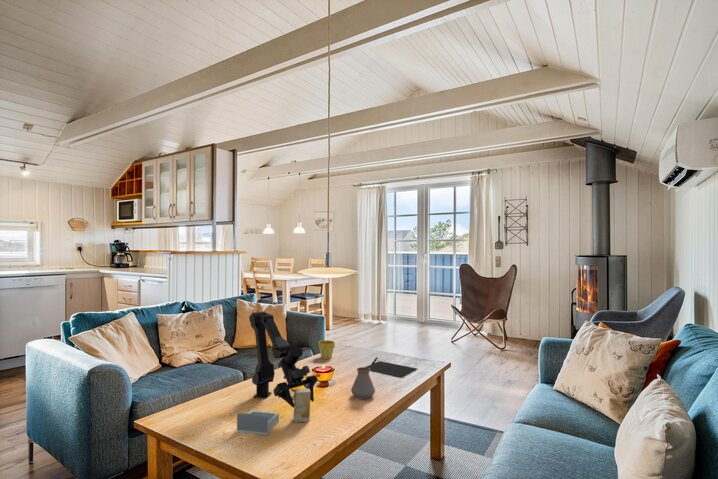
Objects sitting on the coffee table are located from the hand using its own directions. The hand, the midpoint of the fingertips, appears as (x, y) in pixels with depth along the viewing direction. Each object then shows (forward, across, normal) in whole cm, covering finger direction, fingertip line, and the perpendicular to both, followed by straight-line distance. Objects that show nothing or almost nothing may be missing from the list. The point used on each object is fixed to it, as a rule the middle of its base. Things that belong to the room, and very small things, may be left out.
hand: (303, 404), depth 163 cm
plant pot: (-44, +62, +54) cm, 93 cm away
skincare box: (+4, 0, +6) cm, 7 cm away
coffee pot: (0, +41, +10) cm, 42 cm away
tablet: (-14, +76, +24) cm, 81 cm away
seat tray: (0, -16, +10) cm, 19 cm away
